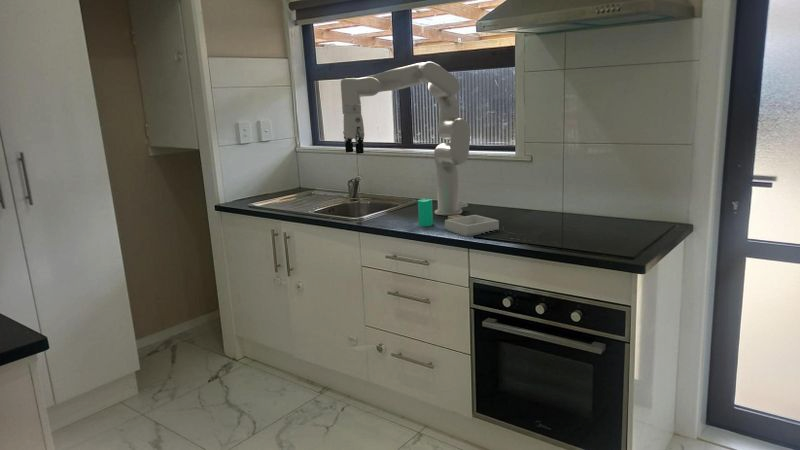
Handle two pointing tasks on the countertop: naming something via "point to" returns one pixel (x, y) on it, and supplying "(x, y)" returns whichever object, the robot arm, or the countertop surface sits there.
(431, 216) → the candle
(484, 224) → the bin
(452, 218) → the oak block
